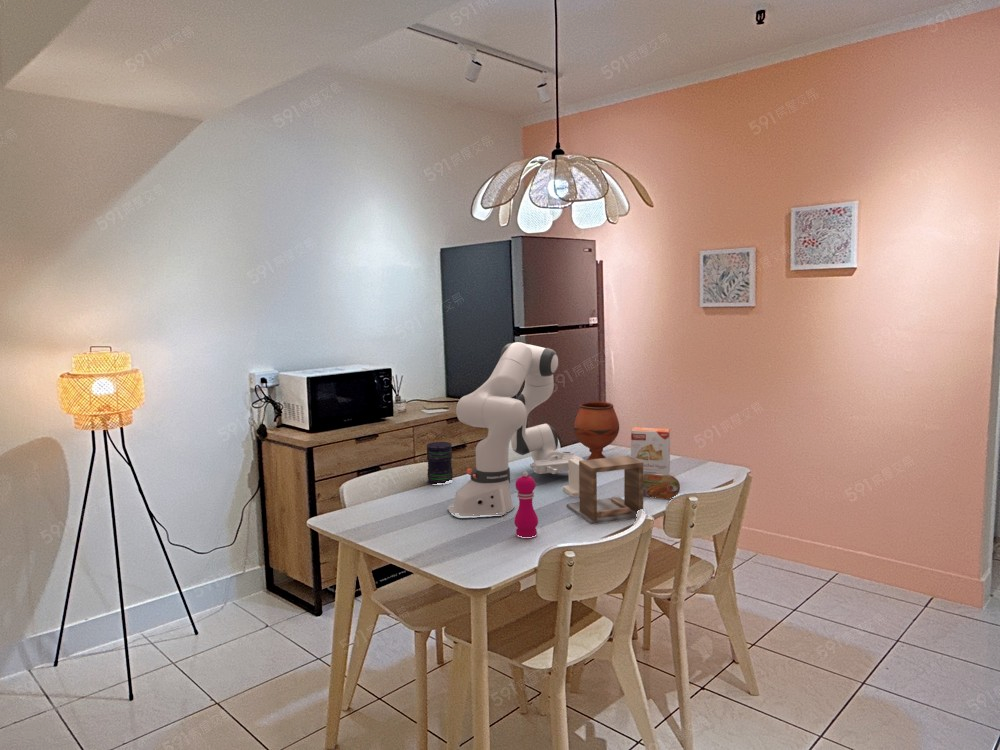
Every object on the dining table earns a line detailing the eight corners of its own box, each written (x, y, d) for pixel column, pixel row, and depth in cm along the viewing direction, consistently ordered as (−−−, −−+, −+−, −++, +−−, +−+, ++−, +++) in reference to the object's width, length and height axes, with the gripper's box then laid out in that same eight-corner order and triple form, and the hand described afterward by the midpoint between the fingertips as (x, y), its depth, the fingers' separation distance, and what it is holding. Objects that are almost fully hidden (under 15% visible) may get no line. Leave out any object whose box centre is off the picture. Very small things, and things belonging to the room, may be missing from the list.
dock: (590, 524, 216) (589, 469, 213) (566, 506, 234) (566, 455, 231) (646, 516, 222) (646, 462, 219) (619, 499, 240) (619, 449, 237)
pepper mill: (513, 531, 211) (512, 468, 209) (536, 530, 212) (535, 467, 209) (515, 540, 204) (514, 475, 201) (539, 539, 204) (538, 474, 202)
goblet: (575, 468, 282) (575, 408, 279) (572, 456, 301) (572, 400, 298) (622, 467, 281) (622, 407, 278) (616, 455, 300) (616, 399, 297)
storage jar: (429, 478, 272) (428, 442, 270) (454, 478, 271) (453, 441, 269) (426, 486, 262) (424, 448, 260) (451, 485, 262) (450, 447, 260)
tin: (636, 496, 244) (636, 473, 242) (638, 493, 246) (638, 470, 245) (678, 501, 237) (678, 477, 235) (680, 498, 239) (681, 475, 238)
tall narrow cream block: (572, 497, 244) (571, 465, 243) (562, 490, 253) (562, 459, 251) (592, 494, 246) (592, 463, 245) (582, 487, 255) (582, 457, 253)
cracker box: (630, 484, 258) (630, 429, 255) (632, 479, 263) (632, 426, 261) (668, 486, 253) (669, 431, 251) (670, 482, 259) (670, 428, 256)
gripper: (528, 456, 267) (540, 464, 254) (576, 451, 273) (591, 459, 260) (528, 472, 268) (541, 481, 255) (576, 466, 274) (591, 475, 261)
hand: (566, 470), depth 257 cm, fingers open, 8 cm apart
